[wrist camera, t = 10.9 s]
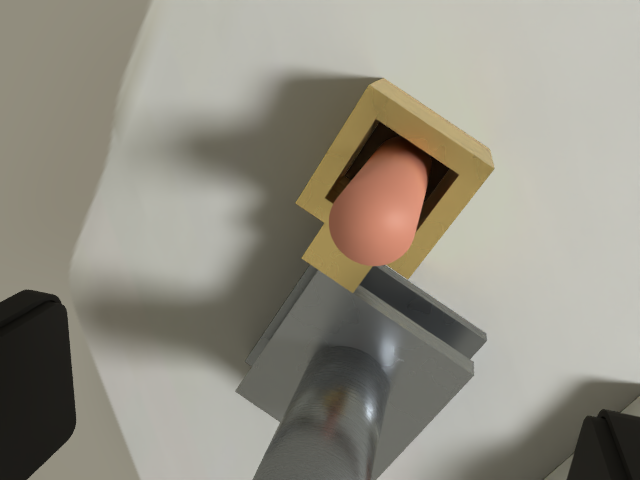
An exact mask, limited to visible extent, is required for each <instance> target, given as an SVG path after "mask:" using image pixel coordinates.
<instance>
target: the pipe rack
mask: <svg viewBox="0 0 640 480" xmlns="http://www.w3.org/2000/svg"><path fill="white" fill-rule="evenodd" d="M621 413H624V414H629V415H634V416H639V417H640V396H639V397H638V398H637V399H635V400H634V401H633V402H632V403H631V404H630V405H629V406H627V407H626V408H625V409H624V410H623V411H622V412H621ZM573 456H574V454H572V455H571V456H570V457H569V458H568V459H567V460H566V461H564V462H563V463H562V464H561V465H560V466H559V467H558V468H556V469H555V470H554V471H553V472H552V473H551V474H549V475H548V476H547V477H546V478H545V479H544V480H566V479H567V476H568V473H569V469H570V466H571V462H572V459H573Z"/></svg>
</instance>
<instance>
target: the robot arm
mask: <svg viewBox="0 0 640 480" xmlns="http://www.w3.org/2000/svg"><path fill="white" fill-rule="evenodd" d="M75 425H76V412H75V400H74V388H73V376H72V365H71V353H70V341H69V330H68V318H67V311H66V308H65V306H64V305H62V304H61V301H60V300H59V298H58V297H57V296H56V295H53V294H48V293H43V292H38V291H33V290H23V291H21V292H19V293H17V294H15V295H13V296H12V297H9V298H7V299H6V300H4V301H2V302H0V480H27V479H28V478H29V477H30V476H31V475H32V474H33V473H34V472H35V471H36V470H37V469H38V468H39V467H40V466H42V465H43V464H44V462H46V461H47V460H48V459H49V458H50V457H51V456H52V455H53V454H54V453H55V452H56V451H57V450H58V449H59V448H60V447H61V446H62V445H63V444H64V443H66V442H67V440H68V439H69V438H70V437H71V435H72V434H73V431H74V429H75ZM566 480H640V417H639V416H634V415H629V414H624V413H619V412H615V411H610V410H605V409H603V410H601V411H600V412H599V414H598V416H597V417H593V416H586V418H585V419H584V422H583V425H582V428H581V432H580V435H579V438H578V442H577V445H576V449H575V452H574V456H573V459H572V462H571V466H570V469H569V473H568V476H567V479H566Z"/></svg>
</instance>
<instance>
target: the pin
mask: <svg viewBox="0 0 640 480" xmlns="http://www.w3.org/2000/svg"><path fill="white" fill-rule="evenodd" d="M431 169H432V162H431V157H430V155H429V154H428V153H426V152H425V151H423V150H422V149H420V148H419V147H417V146H416V145H414V144H413V143H411V142H410V141H408V140H407V139H405V138H404V137H402V136H397V137H393V138H390V139H388V140H386V141H385V142H383V143H382V144H381V145H380V146H379V147H378V149H377V150H376V151H375V152H374V154H373V155H372V156H371V157H370V158H369V160H368V161H367V162H366V163H365V165H364V166H363V167H362V168H361V169H360V171H359V172H358V173H357V174H356V176H355V177H354V178H353V179H352V180H351V182H350V183H349V184H348V185H347V187H346V188H345V189H344V190H343V192H342V193H341V194H340V195H339V196H338V198H337V199H336V200H335V202H334V204H333V206H332V208H331V211H330V215H329V230H330V234H331V237H332V239H333V241H334V243H335V245H336V246H337V248H338V249H339V250H340V251H341V252H342V253H343V254H344V255H345V256H346V257H348V258H349V259H351V260H352V261H354V262H357V263H359V264H363V265H367V266H381V265H386V264H389V263H391V262H394V261H396V260H397V259H399V258H400V257H401V256H403V255H404V254H405V253H406V252H407V250H408V249H409V248H410V246H411V244H412V242H413V239H414V236H415V232H416V228H417V224H418V221H419V217H420V213H421V209H422V205H423V201H424V197H425V193H426V189H427V185H428V182H429V178H430V174H431Z"/></svg>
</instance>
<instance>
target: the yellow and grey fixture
mask: <svg viewBox="0 0 640 480" xmlns="http://www.w3.org/2000/svg"><path fill="white" fill-rule="evenodd" d="M379 122H381V123H383V124H384V125H386V126H387V127H389V128H390V129H392V130H393V131H395V132H396V133H398V134H399V135H401V136H402V137H404V138H405V139H407V140H408V141H410V142H411V143H413V144H414V145H416V146H417V147H419V148H420V149H422V150H423V151H425V152H426V153H428V154H429V155H431V156H432V157H434V158H435V159H437V160H438V161H440V162H441V163H443V164H444V165H446V166H447V167H449V168H450V169H449V170H448V172H447V173H446V174H445V176H444V177H443V178H442V180H441V181H440V182H439V184H438V185H437V187H436V188H435V189H434V191H433V192H432V193H431V195H430V196H429V197H428V199H427V200H426V201H425V203H424V204H423V205H422V209H421V213H420V217H419V221H418V224H417V228H416V232H415V236H414V239H413V242H412V244H411V246H410V248H409V249H408V250H407V252H406V253H405V254H404V255H403V256H401V257H400V258H399V259H397V260H396V261H394V262H391V263H389V264H386V265H387V266H389V267H390V268H392V269H393V270H395V271H396V272H398V273H399V274H401V275H402V276H404V277H405V278H407V279H409V278H410V276H411V275H412V274H413V272H414V271H415V270H416V269H417V267H418V266H419V265H420V263H421V262H422V261H423V260H424V258H425V257H426V256H427V254H428V253H429V252H430V251H431V249H432V248H433V247H434V246H435V244H436V243H437V242H438V240H439V239H440V238H441V237H442V235H443V234H444V233H445V231H446V230H447V229H448V228H449V226H450V225H451V224H452V222H453V221H454V220H455V219H456V217H457V216H458V215H459V214H460V212H461V211H462V210H463V208H464V207H465V206H466V205H467V203H468V202H469V201H470V199H471V198H472V197H473V196H474V194H475V193H476V192H477V190H478V189H479V188H480V187H481V185H482V184H483V183H484V181H485V180H486V179H487V178H488V176H489V175H490V174H491V173H492V171H493V170H494V169H495V168H494V164H493V160H492V156H491V152H490V149H489V148H487V147H486V146H484V145H483V144H481V143H480V142H478V141H477V140H475V139H474V138H472V137H471V136H469V135H468V134H466V133H465V132H463V131H462V130H460V129H459V128H457V127H456V126H454V125H453V124H451V123H450V122H448V121H447V120H445V119H444V118H443V117H441V116H440V115H438V114H437V113H435V112H434V111H432V110H431V109H429V108H428V107H426V106H425V105H423V104H422V103H420V102H419V101H417V100H416V99H414V98H413V97H411V96H410V95H408V94H407V93H405V92H404V91H402V90H401V89H399V88H398V87H396V86H395V85H393V84H392V83H390V82H389V81H387V80H386V79H384V78H382V79H380V80H378V81H376V82H373V83H371V84H369V85H368V87H367V88H366V90H365V92H364V93H363V95H362V97H361V98H360V100H359V101H358V103H357V105H356V106H355V108H354V109H353V111H352V113H351V114H350V116H349V117H348V119H347V121H346V122H345V124H344V126H343V127H342V129H341V130H340V132H339V134H338V135H337V137H336V138H335V140H334V142H333V143H332V145H331V146H330V148H329V150H328V151H327V153H326V155H325V156H324V158H323V159H322V161H321V163H320V164H319V166H318V167H317V169H316V171H315V172H314V174H313V175H312V177H311V179H310V180H309V182H308V184H307V185H306V187H305V188H304V190H303V192H302V193H301V195H300V196H299V198H298V200H297V201H296V204H297V205H299V206H300V207H302V208H303V209H304V210H306V211H307V212H309V213H310V214H312V215H313V216H315V217H316V218H318V219H319V220H321V221H322V222H324V225H323V226H322V228H321V229H320V231H319V232H318V234H317V235H316V237H315V238H314V240H313V241H312V243H311V244H310V246H309V247H308V249H307V250H306V252H305V253H304V255H303V256H302V259H303V260H305V261H306V262H307V263H309V264H310V265H309V267H308V268H307V270H306V271H305V273H304V274H303V276H302V277H301V279H300V280H299V282H298V283H297V285H296V286H295V288H294V289H293V291H292V292H291V294H290V295H289V297H288V298H287V300H286V301H285V302H284V304H283V305H282V307H281V308H280V310H279V311H278V313H277V314H276V316H275V317H274V319H273V320H272V322H271V323H270V325H269V326H268V328H267V329H266V331H265V332H264V334H263V335H262V337H261V338H260V340H259V341H258V343H257V344H256V346H255V347H254V349H253V350H252V352H251V353H250V355H249V356H248V357H247V359H246V360H245V362H246V363H248V364H249V365H251V366H252V367H251V369H250V370H249V372H248V373H247V374H246V376H245V377H244V379H243V380H242V382H241V383H240V385H239V386H238V388H237V389H236V391H235V392H237V393H238V394H240V395H241V396H243V397H244V398H246V399H247V400H249V401H250V402H252V403H253V404H254V405H256V406H257V407H259V408H260V409H262V410H263V411H265V412H266V413H268V414H269V415H271V416H272V417H273V418H275V419H276V420H278V421H279V422H280V424H279V426H278V428H277V430H276V432H275V434H274V436H273V439H272V441H271V443H270V445H269V447H268V449H267V451H266V453H265V455H264V457H263V459H262V461H261V463H260V465H259V467H258V470H257V472H256V474H255V476H254V478H253V480H376V479H377V478H378V477H379V476H380V475H381V474H382V473H383V472H384V471H385V470H386V469H387V468H388V467H389V465H390V464H391V463H392V462H393V461H394V460H395V459H396V458H397V457H398V456H399V455H400V454H401V453H402V452H403V451H404V449H405V448H406V447H407V446H408V445H409V444H410V443H411V442H412V441H413V440H414V439H415V438H416V437H417V436H418V434H419V433H420V432H421V431H422V430H423V429H424V428H425V427H426V426H427V425H428V424H429V423H430V422H431V421H432V420H433V418H434V417H435V416H436V415H437V414H438V413H439V412H440V411H441V410H442V409H443V408H444V407H445V406H446V405H447V404H448V402H449V401H450V400H451V399H452V398H453V397H454V396H455V395H456V394H457V393H458V392H459V391H460V390H461V389H462V387H463V386H464V385H465V384H466V383H467V382H468V381H469V380H470V379H471V378H472V377H473V376H474V362H473V361H471V360H470V359H471V358H472V356H473V355H474V354H475V353H476V352H477V351H478V350H479V349H480V348H481V347H482V346H483V344H484V343H485V342H486V341H487V338H486V333H484V332H483V331H481V330H480V329H478V328H477V327H476V326H474V325H473V324H471V323H470V322H468V321H467V320H465V319H464V318H462V317H461V316H459V315H458V314H456V313H455V312H453V311H452V310H450V309H449V308H447V307H446V306H444V305H443V304H441V303H440V302H439V301H437V300H436V299H434V298H433V297H431V296H430V295H428V294H427V293H425V292H424V291H422V290H421V289H419V288H418V287H416V286H415V285H413V284H412V283H410V282H409V281H407V280H406V279H404V278H403V277H402V276H400V275H399V274H397V273H396V272H394V271H393V270H391V269H390V268H388V267H387V266H385V265H381V266H367V265H363V264H359V263H357V262H354V261H352V260H351V259H349V258H348V257H346V256H345V255H344V254H343V253H342V252H341V251H340V250H339V249H338V248H337V246H336V245H335V243H334V241H333V239H332V237H331V234H330V230H329V215H330V211H331V208H332V206H333V204H334V202H335V200H336V199H337V198H338V196H339V195H340V194H341V193H342V192H343V190H344V189H345V188H346V187H347V185H348V184H349V183H350V182H351V180H350V179H348V178H347V177H345V174H346V173H347V171H348V170H349V168H350V167H351V165H352V164H353V162H354V160H355V159H356V157H357V156H358V154H359V153H360V151H361V150H362V148H363V147H364V145H365V144H366V142H367V140H368V139H369V137H370V136H371V134H372V133H373V131H374V130H375V128H376V127H377V125H378V124H379Z"/></svg>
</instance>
